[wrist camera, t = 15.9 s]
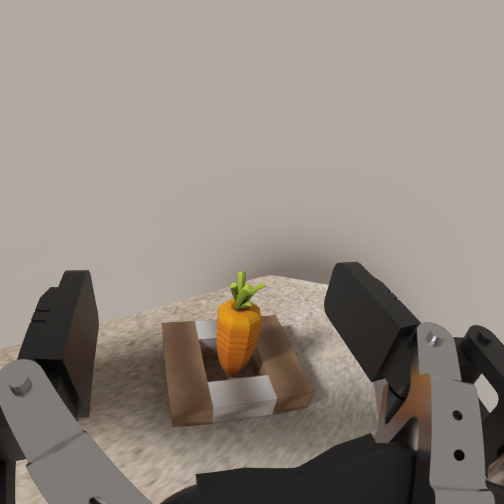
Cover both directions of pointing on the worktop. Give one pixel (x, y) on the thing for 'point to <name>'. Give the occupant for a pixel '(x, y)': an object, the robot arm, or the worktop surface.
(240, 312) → the carrot
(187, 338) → the brown and silver frame
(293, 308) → the worktop surface
